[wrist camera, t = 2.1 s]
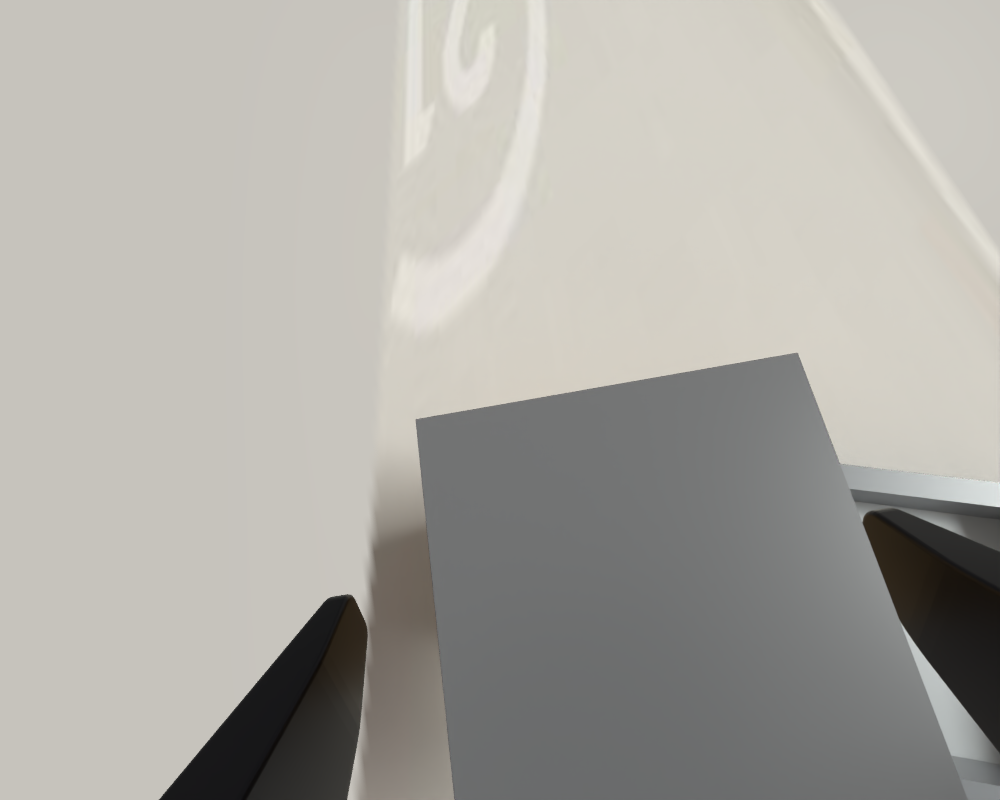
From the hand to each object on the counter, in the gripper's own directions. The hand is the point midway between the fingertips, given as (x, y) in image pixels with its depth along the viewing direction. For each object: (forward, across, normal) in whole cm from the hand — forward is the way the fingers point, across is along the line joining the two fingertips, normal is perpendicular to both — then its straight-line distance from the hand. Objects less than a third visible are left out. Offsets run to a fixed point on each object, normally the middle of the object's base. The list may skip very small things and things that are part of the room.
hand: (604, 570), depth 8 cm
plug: (+6, 0, +6) cm, 8 cm away
